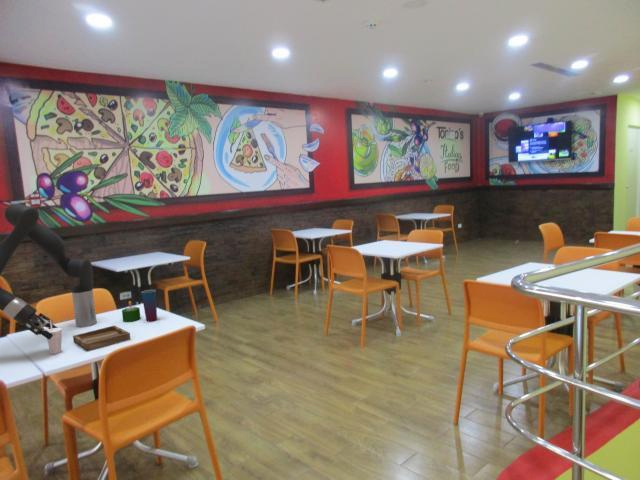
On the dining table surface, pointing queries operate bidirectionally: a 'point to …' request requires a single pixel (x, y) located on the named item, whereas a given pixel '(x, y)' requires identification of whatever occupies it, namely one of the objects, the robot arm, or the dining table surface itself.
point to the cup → (150, 305)
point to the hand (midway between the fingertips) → (54, 334)
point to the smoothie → (55, 339)
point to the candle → (131, 313)
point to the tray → (101, 338)
